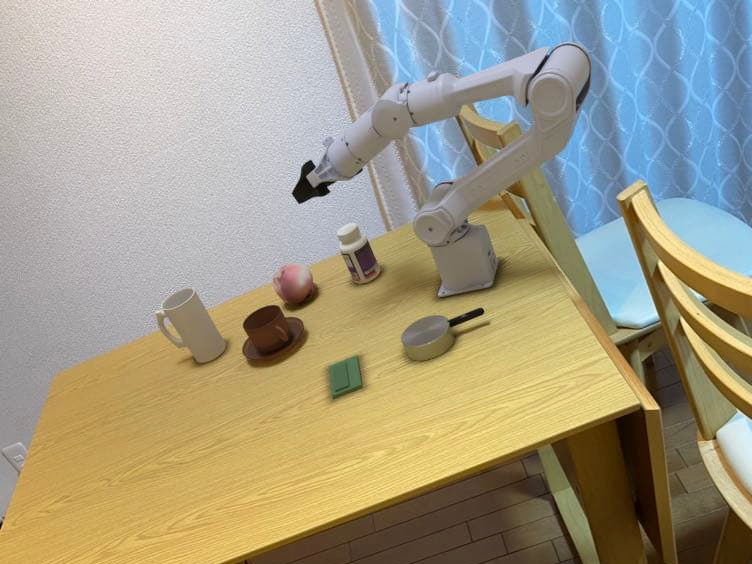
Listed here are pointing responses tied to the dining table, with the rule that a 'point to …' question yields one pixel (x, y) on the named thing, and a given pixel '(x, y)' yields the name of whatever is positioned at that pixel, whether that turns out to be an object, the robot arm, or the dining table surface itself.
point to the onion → (294, 284)
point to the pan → (433, 335)
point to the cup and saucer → (270, 333)
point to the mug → (191, 325)
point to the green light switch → (345, 377)
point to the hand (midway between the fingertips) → (309, 189)
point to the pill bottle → (357, 254)
